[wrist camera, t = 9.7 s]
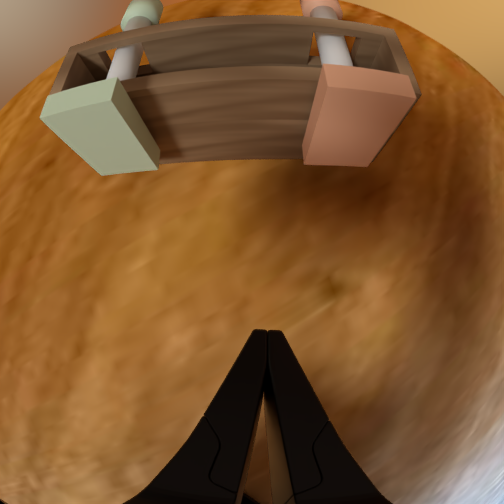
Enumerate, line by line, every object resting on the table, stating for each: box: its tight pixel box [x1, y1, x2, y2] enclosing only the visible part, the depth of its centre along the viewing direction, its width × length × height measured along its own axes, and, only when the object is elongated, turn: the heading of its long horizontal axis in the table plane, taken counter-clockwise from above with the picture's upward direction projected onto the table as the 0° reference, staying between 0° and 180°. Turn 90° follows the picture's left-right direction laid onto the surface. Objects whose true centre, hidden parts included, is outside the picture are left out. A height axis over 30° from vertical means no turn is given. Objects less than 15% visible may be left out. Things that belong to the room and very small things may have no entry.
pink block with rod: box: [300, 0, 417, 167], centre depth 17 cm, size 14×4×8 cm, turn 1°
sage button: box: [40, 0, 163, 176], centre depth 17 cm, size 14×4×8 cm, turn 1°
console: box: [49, 15, 422, 164], centre depth 19 cm, size 6×22×9 cm, turn 91°
